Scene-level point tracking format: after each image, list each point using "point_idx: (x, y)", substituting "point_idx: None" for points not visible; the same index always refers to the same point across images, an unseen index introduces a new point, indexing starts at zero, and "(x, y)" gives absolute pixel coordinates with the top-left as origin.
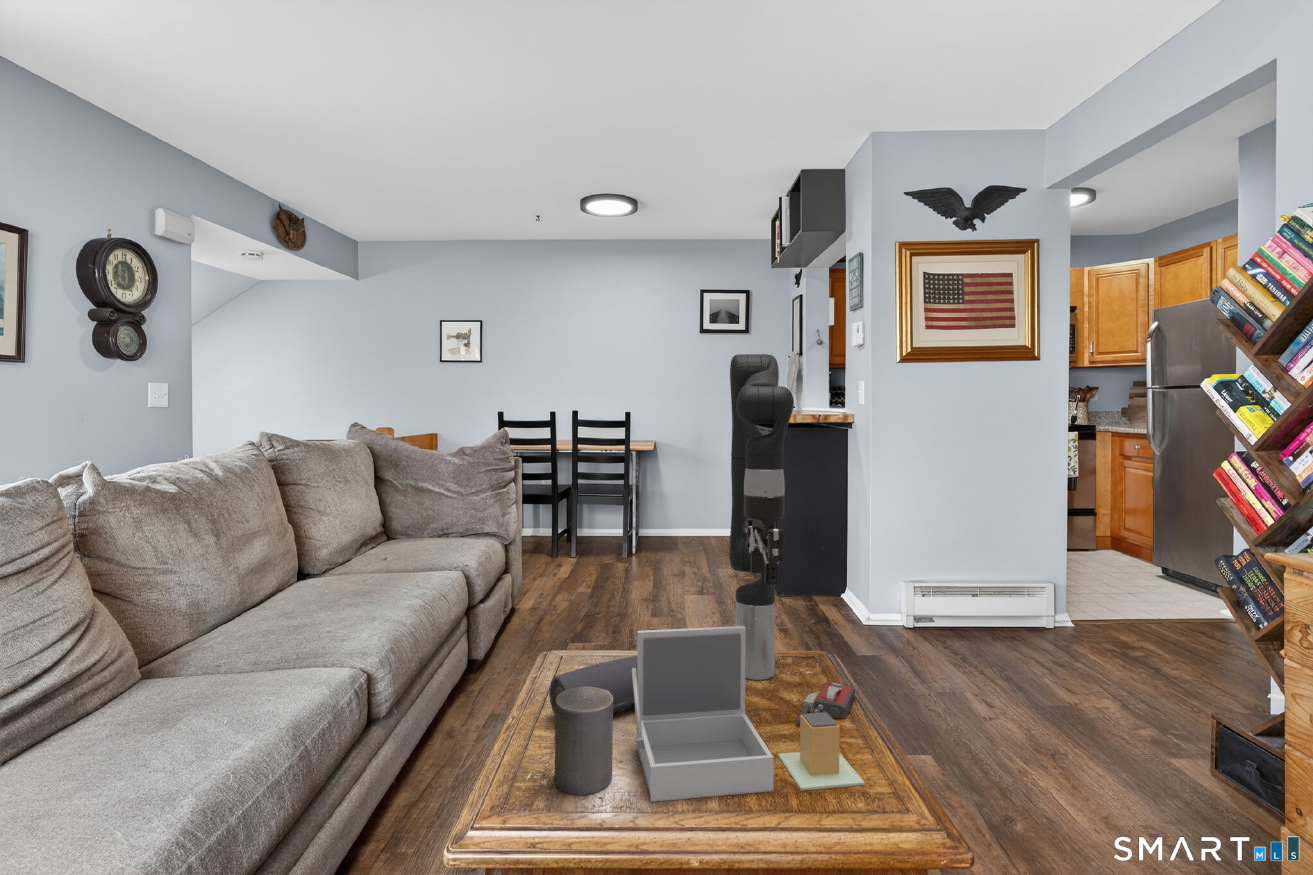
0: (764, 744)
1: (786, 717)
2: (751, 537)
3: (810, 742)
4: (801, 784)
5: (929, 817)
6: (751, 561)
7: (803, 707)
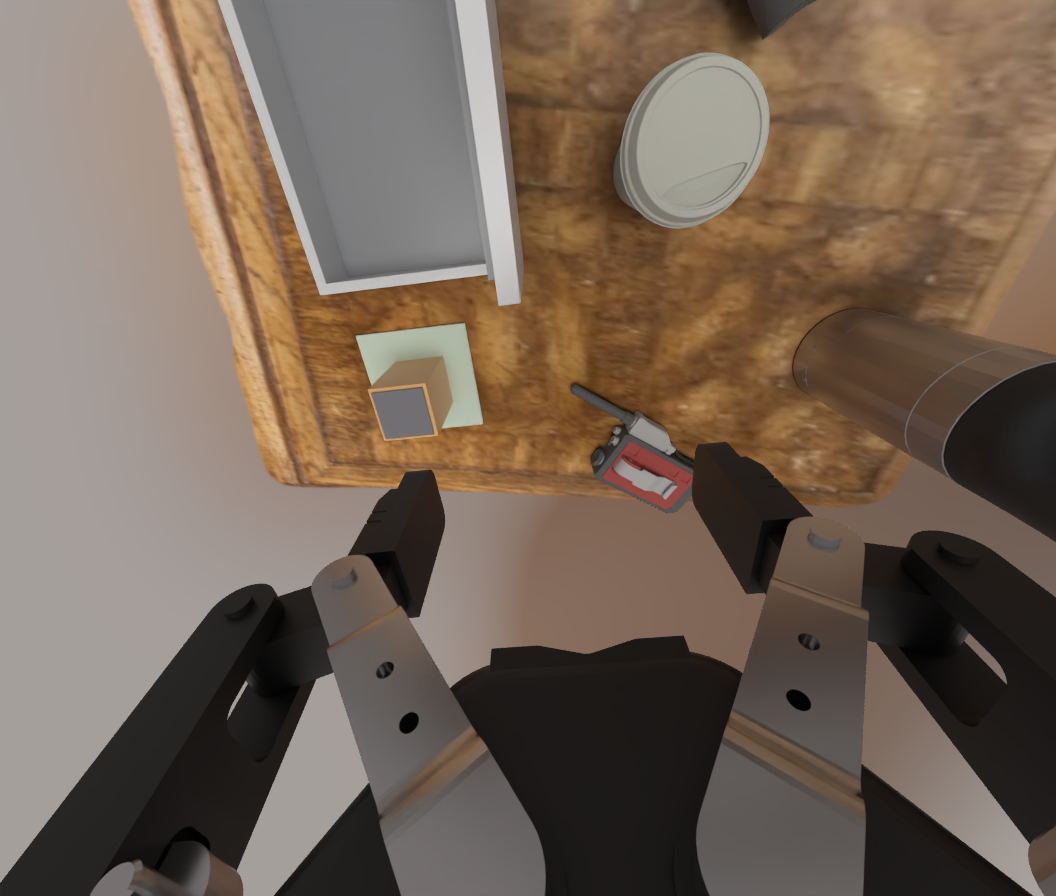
0: (369, 287)
1: (610, 372)
2: (781, 687)
3: (381, 379)
4: (366, 339)
5: (323, 480)
6: (737, 483)
7: (636, 412)
